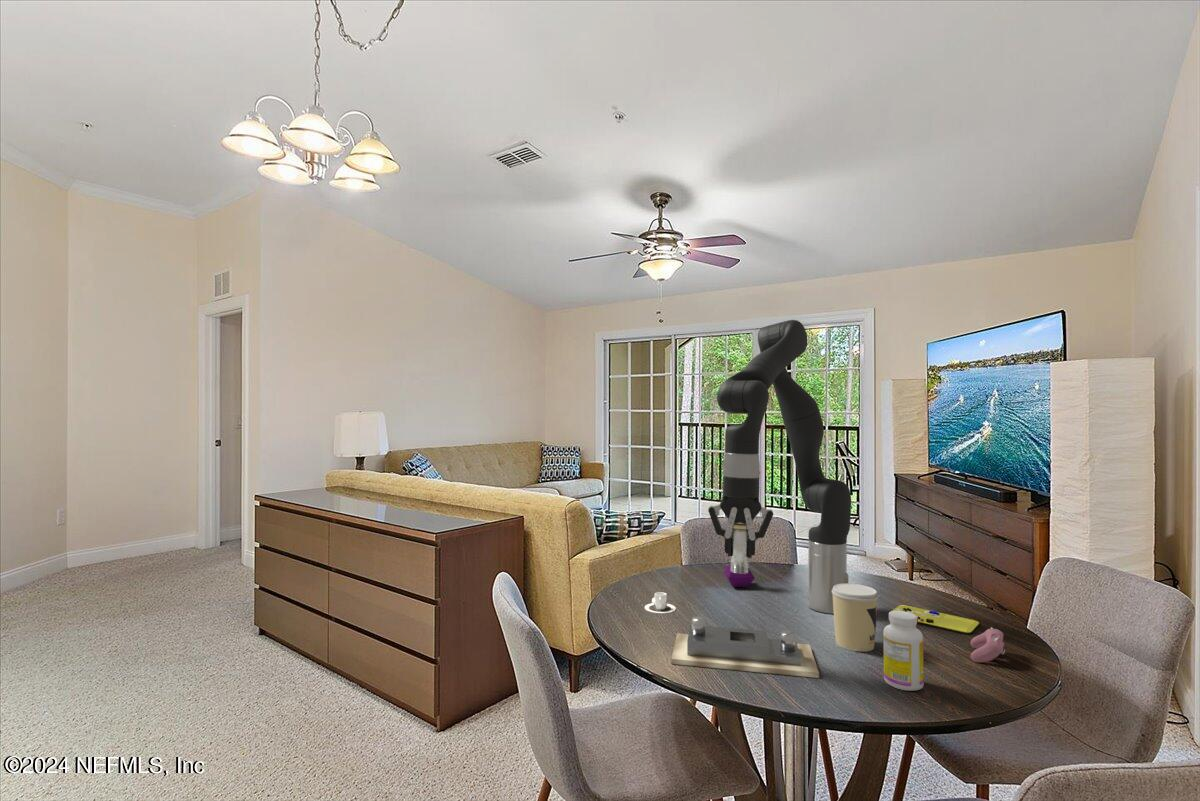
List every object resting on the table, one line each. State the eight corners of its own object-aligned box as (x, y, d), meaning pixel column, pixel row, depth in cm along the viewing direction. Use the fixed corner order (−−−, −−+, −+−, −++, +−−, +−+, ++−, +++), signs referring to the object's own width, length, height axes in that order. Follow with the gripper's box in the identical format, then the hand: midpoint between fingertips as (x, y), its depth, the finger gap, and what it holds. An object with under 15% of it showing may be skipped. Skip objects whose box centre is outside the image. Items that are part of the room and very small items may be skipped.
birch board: (809, 649, 127) (809, 644, 127) (819, 678, 113) (819, 672, 113) (677, 637, 133) (677, 633, 133) (671, 663, 119) (671, 658, 119)
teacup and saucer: (653, 602, 159) (653, 586, 159) (681, 606, 155) (681, 591, 156) (639, 611, 151) (639, 595, 151) (669, 617, 148) (669, 600, 148)
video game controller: (992, 674, 119) (1011, 646, 118) (968, 659, 121) (986, 631, 120) (990, 657, 128) (1008, 630, 126) (968, 643, 130) (985, 617, 128)
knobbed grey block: (795, 647, 125) (796, 619, 125) (800, 665, 117) (801, 634, 117) (690, 638, 130) (690, 610, 130) (687, 655, 121) (687, 625, 121)
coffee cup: (880, 656, 124) (880, 597, 124) (832, 649, 127) (832, 592, 127) (876, 640, 133) (876, 585, 133) (831, 634, 136) (831, 581, 136)
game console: (980, 625, 144) (980, 619, 144) (970, 638, 135) (970, 632, 135) (900, 608, 156) (900, 602, 156) (886, 619, 148) (886, 613, 148)
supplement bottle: (908, 675, 115) (908, 608, 115) (931, 691, 108) (931, 620, 109) (876, 677, 114) (875, 609, 114) (897, 693, 108) (897, 621, 108)
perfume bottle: (754, 589, 169) (755, 526, 170) (728, 589, 169) (728, 525, 170) (748, 582, 177) (748, 521, 177) (723, 581, 177) (723, 521, 177)
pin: (749, 569, 127) (750, 522, 128) (749, 574, 123) (750, 526, 124) (729, 568, 128) (730, 521, 129) (728, 573, 124) (729, 524, 125)
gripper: (775, 474, 128) (773, 555, 128) (708, 471, 132) (706, 550, 131) (777, 478, 121) (775, 563, 121) (706, 474, 124) (704, 557, 124)
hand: (739, 556), depth 126 cm, fingers closed on pin, 3 cm apart
